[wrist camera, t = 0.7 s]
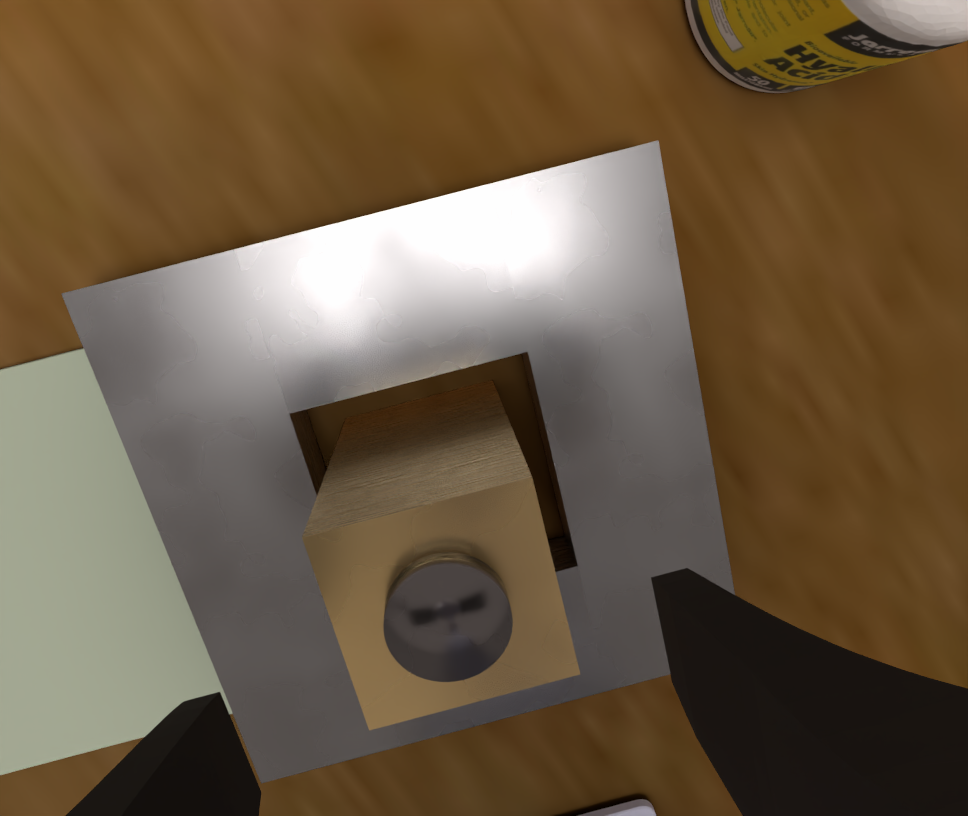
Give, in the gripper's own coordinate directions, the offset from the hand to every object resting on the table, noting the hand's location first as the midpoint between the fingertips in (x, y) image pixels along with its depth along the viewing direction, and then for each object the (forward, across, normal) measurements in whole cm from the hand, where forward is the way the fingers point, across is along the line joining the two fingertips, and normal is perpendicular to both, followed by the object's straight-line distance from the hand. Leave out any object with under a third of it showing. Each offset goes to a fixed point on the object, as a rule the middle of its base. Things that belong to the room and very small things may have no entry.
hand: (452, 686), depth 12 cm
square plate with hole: (+10, 0, 0) cm, 10 cm away
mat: (+10, +13, 0) cm, 17 cm away
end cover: (+10, 0, 0) cm, 10 cm away
